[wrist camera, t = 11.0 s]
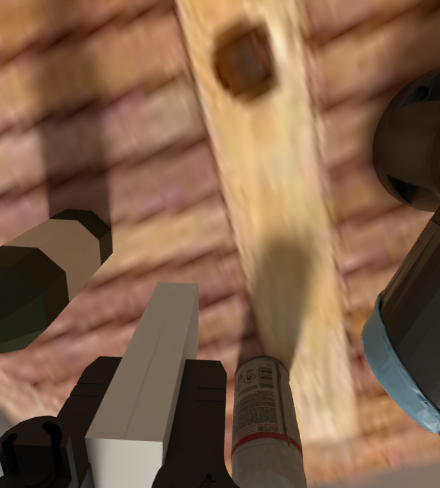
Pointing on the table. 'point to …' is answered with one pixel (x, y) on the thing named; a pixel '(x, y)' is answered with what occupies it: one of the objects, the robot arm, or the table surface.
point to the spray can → (265, 428)
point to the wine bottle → (47, 273)
